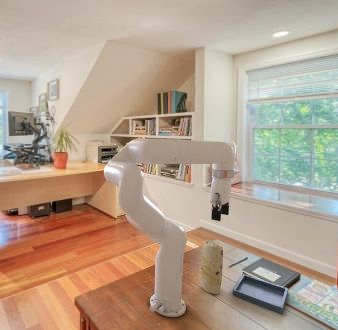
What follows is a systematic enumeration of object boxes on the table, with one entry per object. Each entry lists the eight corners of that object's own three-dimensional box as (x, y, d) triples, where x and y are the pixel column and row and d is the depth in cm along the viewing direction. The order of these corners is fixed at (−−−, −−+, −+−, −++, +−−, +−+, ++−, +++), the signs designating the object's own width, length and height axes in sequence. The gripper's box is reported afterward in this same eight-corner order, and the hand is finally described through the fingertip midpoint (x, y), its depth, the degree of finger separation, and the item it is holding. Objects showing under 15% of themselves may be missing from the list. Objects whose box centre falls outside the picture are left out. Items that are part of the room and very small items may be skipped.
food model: (225, 295, 99) (228, 247, 97) (210, 297, 98) (213, 248, 95) (209, 281, 109) (212, 236, 106) (195, 283, 107) (197, 238, 105)
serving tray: (282, 314, 89) (282, 308, 89) (232, 294, 99) (232, 289, 99) (287, 293, 100) (288, 288, 100) (242, 278, 111) (243, 273, 110)
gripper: (219, 170, 106) (217, 210, 108) (204, 175, 93) (201, 220, 95) (240, 172, 100) (237, 214, 103) (226, 177, 88) (223, 225, 90)
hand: (220, 217), depth 99 cm, fingers open, 9 cm apart
